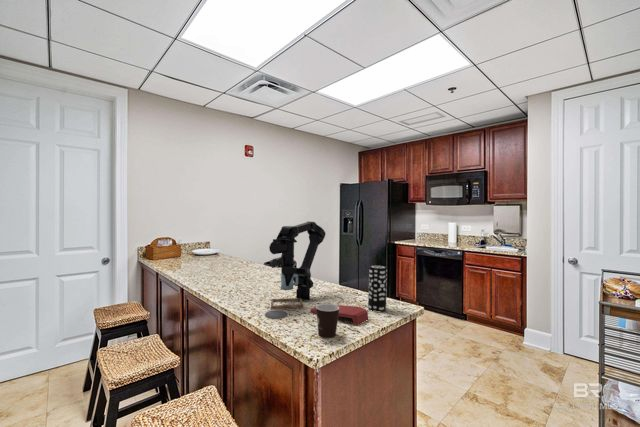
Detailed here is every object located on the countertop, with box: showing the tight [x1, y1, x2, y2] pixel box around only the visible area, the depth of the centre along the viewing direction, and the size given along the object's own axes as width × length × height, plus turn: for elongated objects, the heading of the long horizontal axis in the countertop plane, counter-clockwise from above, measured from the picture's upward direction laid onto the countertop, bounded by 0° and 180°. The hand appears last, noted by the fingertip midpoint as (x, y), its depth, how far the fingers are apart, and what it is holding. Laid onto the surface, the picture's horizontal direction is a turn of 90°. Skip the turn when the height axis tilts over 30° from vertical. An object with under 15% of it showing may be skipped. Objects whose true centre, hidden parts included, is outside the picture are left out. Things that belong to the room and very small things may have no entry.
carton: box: [310, 304, 369, 326], centre depth 130 cm, size 12×5×25 cm
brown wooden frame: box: [270, 297, 304, 310], centre depth 144 cm, size 15×12×1 cm
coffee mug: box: [315, 303, 339, 339], centre depth 111 cm, size 12×9×10 cm
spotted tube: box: [367, 264, 388, 312], centre depth 140 cm, size 8×8×20 cm
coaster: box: [264, 309, 289, 320], centre depth 129 cm, size 10×10×1 cm
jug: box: [280, 272, 298, 291], centre depth 144 cm, size 8×6×8 cm
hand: (287, 284), depth 143 cm, fingers closed on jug, 6 cm apart
